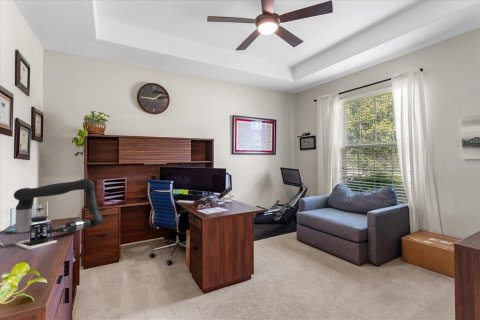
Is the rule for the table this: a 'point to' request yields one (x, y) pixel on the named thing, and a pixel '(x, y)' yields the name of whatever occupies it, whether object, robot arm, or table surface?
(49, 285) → the table surface
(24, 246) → the bay
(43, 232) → the french press
